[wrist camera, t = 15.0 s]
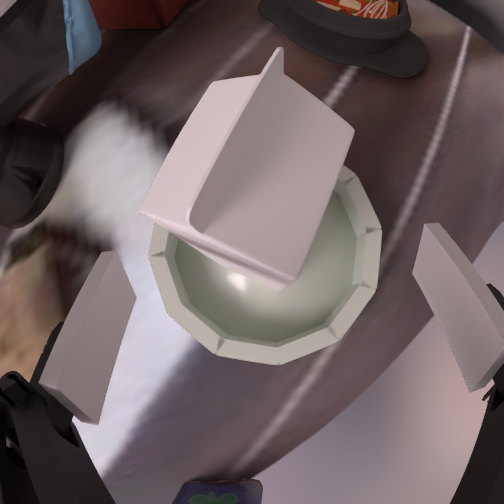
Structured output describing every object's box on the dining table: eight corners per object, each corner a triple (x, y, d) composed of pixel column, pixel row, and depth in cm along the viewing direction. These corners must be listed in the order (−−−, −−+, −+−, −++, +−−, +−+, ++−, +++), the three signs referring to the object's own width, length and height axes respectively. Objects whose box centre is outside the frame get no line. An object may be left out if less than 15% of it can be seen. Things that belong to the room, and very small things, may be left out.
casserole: (435, 46, 33) (454, 12, 25) (398, 113, 31) (424, 72, 23) (298, -19, 36) (300, -55, 28) (232, 31, 35) (224, -14, 26)
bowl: (144, 197, 31) (128, 185, 28) (317, 131, 31) (321, 111, 27) (207, 380, 28) (198, 392, 24) (395, 305, 28) (411, 305, 24)
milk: (305, 233, 29) (385, 76, 7) (280, 292, 28) (316, 276, 6) (246, 208, 30) (197, 23, 8) (219, 266, 29) (90, 179, 7)
